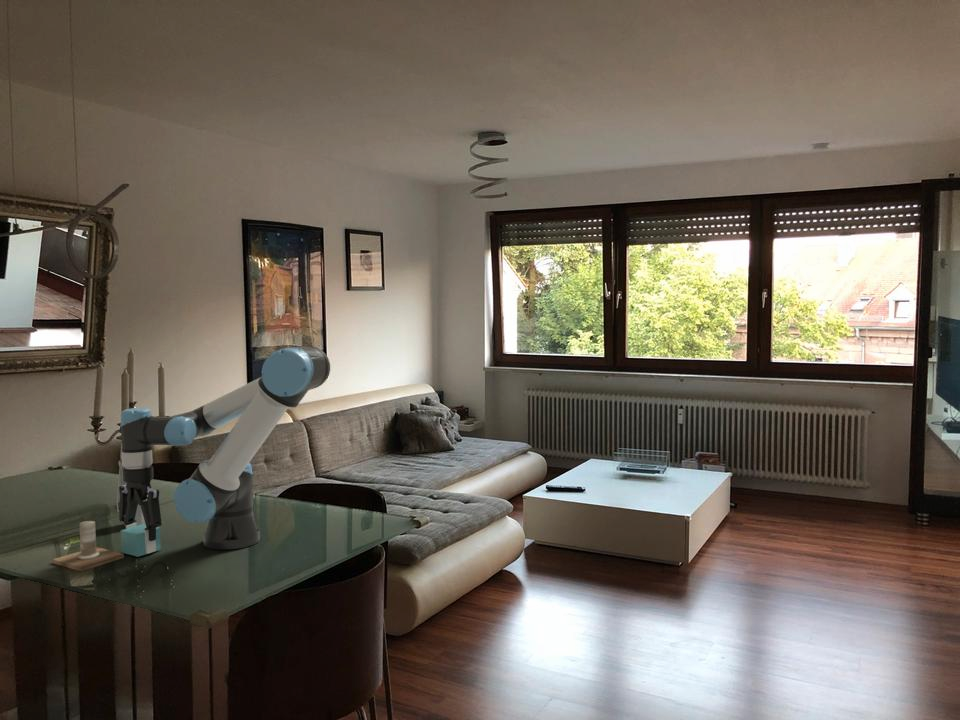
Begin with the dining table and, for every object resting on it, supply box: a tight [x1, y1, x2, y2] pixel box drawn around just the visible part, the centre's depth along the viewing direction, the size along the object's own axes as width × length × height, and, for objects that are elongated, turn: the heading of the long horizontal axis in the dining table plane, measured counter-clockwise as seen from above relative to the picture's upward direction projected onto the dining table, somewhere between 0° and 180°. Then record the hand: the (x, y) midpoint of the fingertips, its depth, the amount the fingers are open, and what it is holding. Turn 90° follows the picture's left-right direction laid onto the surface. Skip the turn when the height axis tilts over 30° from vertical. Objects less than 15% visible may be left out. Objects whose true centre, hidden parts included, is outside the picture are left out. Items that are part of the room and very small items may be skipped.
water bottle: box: [115, 443, 147, 526], centre depth 230 cm, size 9×8×25 cm
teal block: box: [119, 524, 162, 557], centre depth 205 cm, size 7×7×6 cm
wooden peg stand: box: [51, 520, 125, 572], centre depth 199 cm, size 12×12×10 cm
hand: (141, 549), depth 206 cm, fingers closed on teal block, 7 cm apart
